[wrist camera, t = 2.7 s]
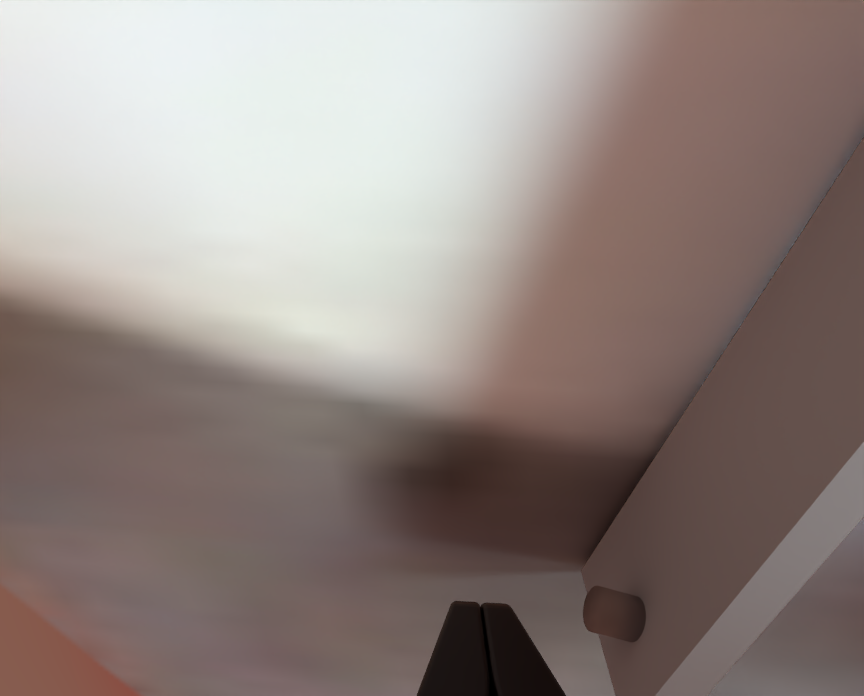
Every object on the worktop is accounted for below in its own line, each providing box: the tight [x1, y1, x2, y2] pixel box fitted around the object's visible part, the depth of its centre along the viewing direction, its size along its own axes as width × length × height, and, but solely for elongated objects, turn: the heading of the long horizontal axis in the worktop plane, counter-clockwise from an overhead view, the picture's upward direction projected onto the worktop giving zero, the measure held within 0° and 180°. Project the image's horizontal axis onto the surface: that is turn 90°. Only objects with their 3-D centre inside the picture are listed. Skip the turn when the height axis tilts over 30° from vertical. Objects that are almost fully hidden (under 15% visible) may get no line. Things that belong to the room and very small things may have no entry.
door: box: [581, 137, 864, 696], centre depth 12 cm, size 20×2×5 cm, turn 160°
